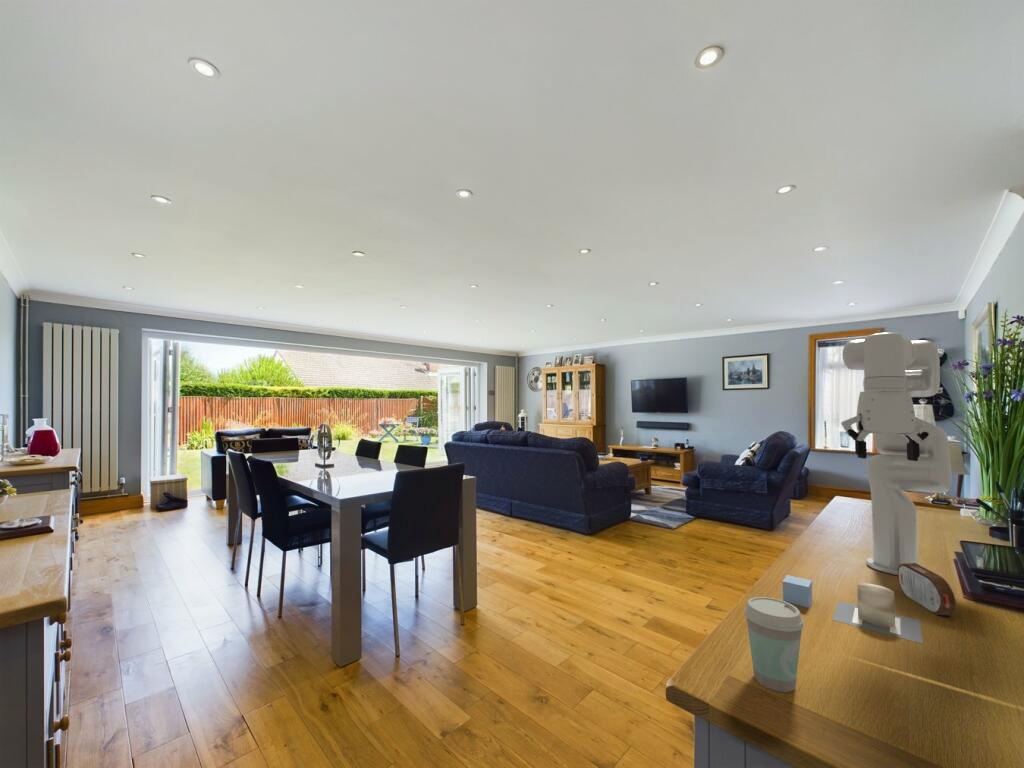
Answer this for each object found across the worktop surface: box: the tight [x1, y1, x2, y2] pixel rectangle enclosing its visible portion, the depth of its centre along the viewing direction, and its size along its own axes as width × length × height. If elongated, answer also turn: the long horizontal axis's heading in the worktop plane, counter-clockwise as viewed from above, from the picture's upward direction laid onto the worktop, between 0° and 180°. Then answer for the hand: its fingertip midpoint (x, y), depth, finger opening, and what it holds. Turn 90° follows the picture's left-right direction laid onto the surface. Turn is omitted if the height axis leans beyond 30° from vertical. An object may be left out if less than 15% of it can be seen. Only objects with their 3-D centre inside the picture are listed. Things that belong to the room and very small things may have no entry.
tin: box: [897, 563, 957, 617], centre depth 101 cm, size 15×3×8 cm, turn 168°
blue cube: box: [782, 574, 813, 609], centre depth 103 cm, size 5×5×5 cm
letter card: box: [832, 600, 924, 644], centre depth 93 cm, size 12×14×1 cm
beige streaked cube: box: [856, 582, 896, 627], centre depth 94 cm, size 6×6×6 cm
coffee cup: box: [743, 596, 805, 693], centre depth 73 cm, size 8×9×12 cm
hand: (886, 459), depth 104 cm, fingers open, 9 cm apart
